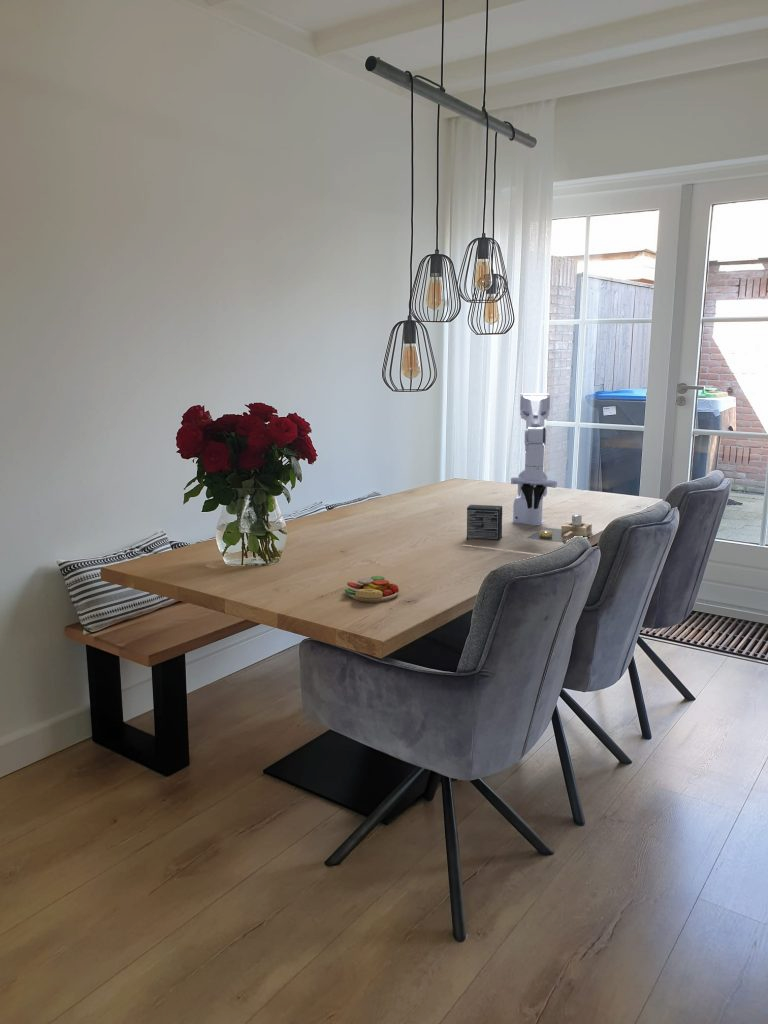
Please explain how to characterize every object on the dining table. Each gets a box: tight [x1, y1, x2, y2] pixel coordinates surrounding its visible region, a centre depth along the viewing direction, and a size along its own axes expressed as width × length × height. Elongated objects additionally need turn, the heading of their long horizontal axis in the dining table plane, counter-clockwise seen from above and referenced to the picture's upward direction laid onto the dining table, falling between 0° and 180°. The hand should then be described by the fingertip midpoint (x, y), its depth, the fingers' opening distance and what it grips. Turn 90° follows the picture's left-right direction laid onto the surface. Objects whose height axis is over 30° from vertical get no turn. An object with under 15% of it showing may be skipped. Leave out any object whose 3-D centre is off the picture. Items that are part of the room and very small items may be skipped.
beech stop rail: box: [562, 531, 573, 543], centre depth 254 cm, size 1×6×2 cm, turn 150°
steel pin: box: [571, 514, 583, 526], centre depth 262 cm, size 3×3×6 cm
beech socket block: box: [560, 520, 593, 537], centre depth 263 cm, size 8×8×3 cm
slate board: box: [526, 527, 574, 543], centre depth 261 cm, size 15×17×1 cm
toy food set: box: [344, 575, 400, 603], centre depth 201 cm, size 13×13×3 cm
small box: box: [466, 504, 503, 541], centre depth 258 cm, size 11×6×10 cm, turn 74°
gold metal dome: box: [538, 530, 552, 539], centre depth 258 cm, size 4×4×2 cm
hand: (532, 508), depth 259 cm, fingers closed
